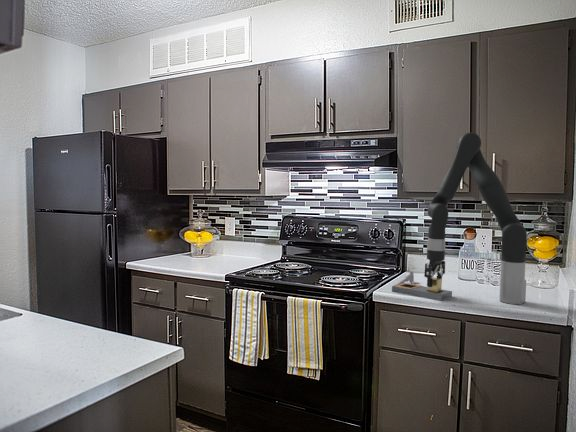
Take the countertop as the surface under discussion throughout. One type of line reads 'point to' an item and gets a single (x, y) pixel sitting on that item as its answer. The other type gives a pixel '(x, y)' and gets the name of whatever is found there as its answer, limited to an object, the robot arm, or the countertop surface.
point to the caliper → (407, 278)
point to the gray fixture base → (421, 291)
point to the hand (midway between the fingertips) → (434, 285)
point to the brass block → (436, 285)
